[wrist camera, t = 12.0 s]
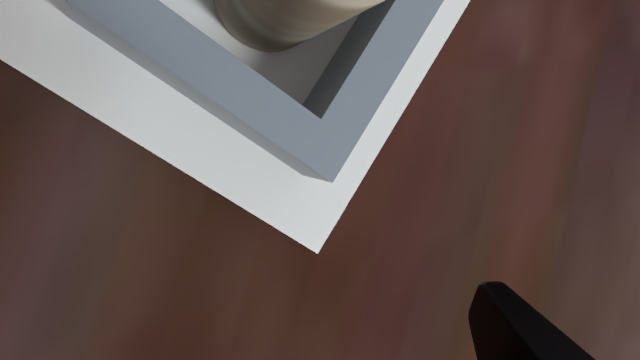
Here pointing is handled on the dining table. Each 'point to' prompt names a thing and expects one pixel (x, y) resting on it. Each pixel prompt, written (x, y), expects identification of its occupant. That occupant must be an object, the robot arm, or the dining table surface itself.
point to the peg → (284, 20)
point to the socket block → (237, 93)
